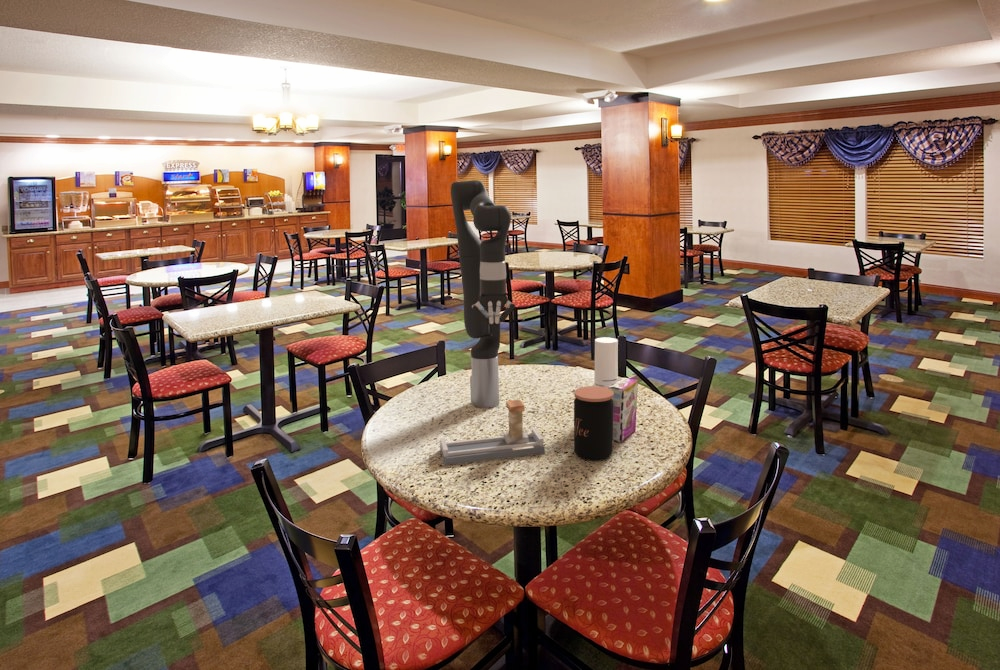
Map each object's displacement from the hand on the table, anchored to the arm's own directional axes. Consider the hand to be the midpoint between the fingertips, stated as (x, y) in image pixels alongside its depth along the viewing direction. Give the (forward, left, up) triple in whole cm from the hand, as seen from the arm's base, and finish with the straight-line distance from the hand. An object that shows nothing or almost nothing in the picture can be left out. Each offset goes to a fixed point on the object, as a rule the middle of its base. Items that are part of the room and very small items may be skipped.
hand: (493, 335), depth 177 cm
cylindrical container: (+14, +35, -31) cm, 49 cm away
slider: (+13, -4, -28) cm, 31 cm away
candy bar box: (+28, +25, -31) cm, 49 cm away
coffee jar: (+30, +9, -31) cm, 44 cm away
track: (+9, -10, -31) cm, 34 cm away
